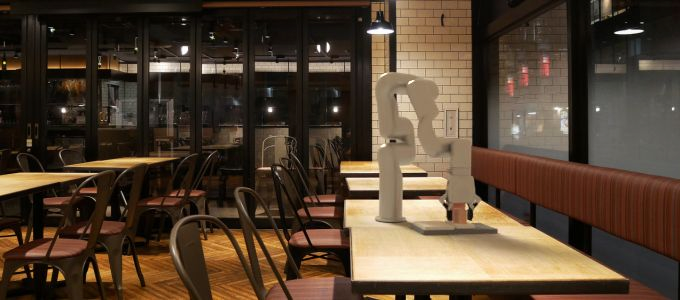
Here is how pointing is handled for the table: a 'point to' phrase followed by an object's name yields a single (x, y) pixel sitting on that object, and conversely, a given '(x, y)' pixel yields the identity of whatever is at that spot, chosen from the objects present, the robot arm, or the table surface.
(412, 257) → the table surface
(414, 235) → the table surface
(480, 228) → the grey flat block
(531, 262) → the table surface
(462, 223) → the salmon brown block
